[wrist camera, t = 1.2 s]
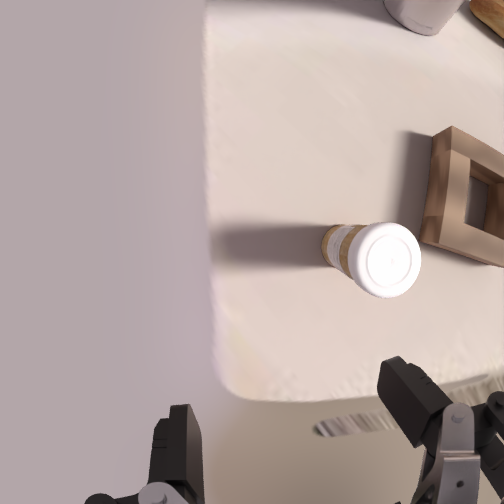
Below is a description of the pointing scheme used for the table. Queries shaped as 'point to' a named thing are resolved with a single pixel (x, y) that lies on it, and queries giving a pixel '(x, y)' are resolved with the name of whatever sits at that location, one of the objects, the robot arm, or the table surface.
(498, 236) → the walnut bottle stand
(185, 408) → the robot arm
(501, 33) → the bread roll
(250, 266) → the table surface
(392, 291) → the sprinkles bottle
